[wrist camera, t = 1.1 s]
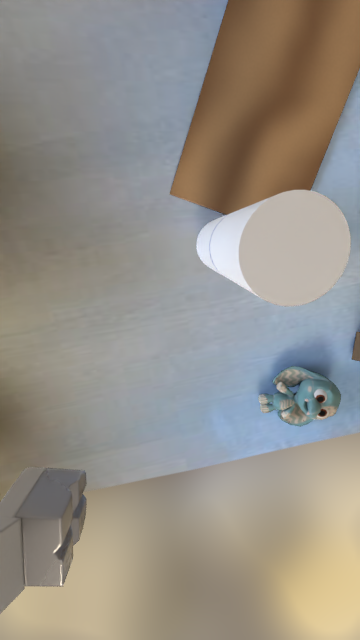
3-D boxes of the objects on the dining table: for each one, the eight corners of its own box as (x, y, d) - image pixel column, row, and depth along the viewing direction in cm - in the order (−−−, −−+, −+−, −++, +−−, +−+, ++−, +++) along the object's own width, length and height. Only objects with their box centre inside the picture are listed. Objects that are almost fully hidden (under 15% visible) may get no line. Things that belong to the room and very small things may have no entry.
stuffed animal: (256, 387, 43) (347, 374, 41) (251, 365, 50) (329, 353, 48) (268, 450, 46) (354, 442, 44) (262, 421, 53) (336, 413, 51)
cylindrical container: (198, 216, 42) (246, 184, 18) (249, 220, 43) (362, 195, 19) (194, 268, 44) (232, 303, 20) (243, 272, 45) (338, 309, 20)
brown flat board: (169, 194, 41) (169, 193, 41) (248, -65, 35) (249, -68, 35) (290, 237, 44) (291, 237, 43) (384, 3, 37) (386, 0, 37)
